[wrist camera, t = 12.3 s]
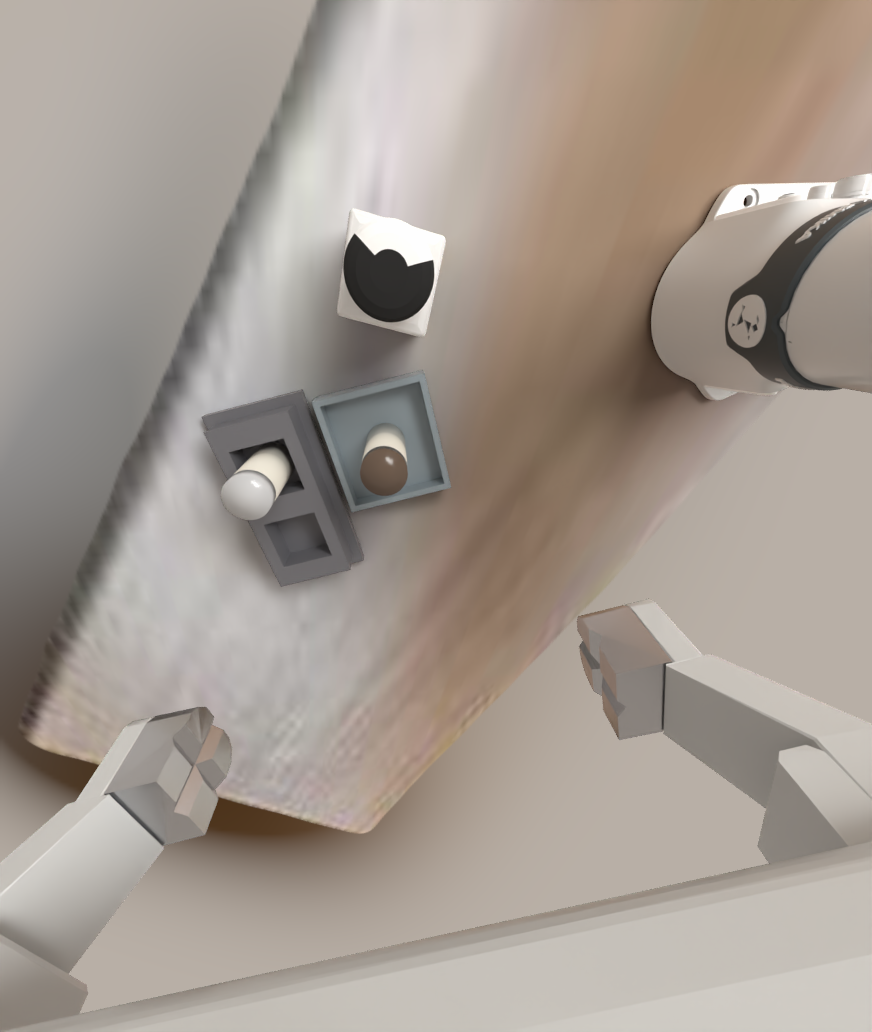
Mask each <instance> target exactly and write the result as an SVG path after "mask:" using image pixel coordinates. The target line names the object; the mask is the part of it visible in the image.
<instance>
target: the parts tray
mask: <svg viewBox="0 0 872 1032" xmlns="http://www.w3.org/2000/svg"><path fill="white" fill-rule="evenodd" d="M312 405H313V408H314V411H315V413H316V416H317V419H318V422H319V424H320V427H321V430H322V433H323V435H324V438H325V441H326V443H327V446H328V449H329V452H330V454H331V457H332V460H333V463H334V465H335V468H336V471H337V474H338V476H339V479H340V482H341V484H342V487H343V490H344V493H345V495H346V498H347V501H348V504H349V506H350V509H351V512H356V511H360V510H364V509H368V508H372V507H376V506H380V505H384V504H388V503H392V502H396V501H400V500H404V499H408V498H412V497H416V496H420V495H424V494H428V493H432V492H436V491H440V490H444V489H448V488H451V485H450V480H449V476H448V472H447V468H446V463H445V459H444V455H443V451H442V446H441V442H440V438H439V434H438V429H437V425H436V421H435V416H434V412H433V408H432V404H431V399H430V395H429V391H428V387H427V382H426V378H425V374H424V371H423V370H420V371H416V372H412V373H408V374H404V375H400V376H396V377H392V378H389V379H385V380H381V381H377V382H373V383H369V384H365V385H361V386H358V387H354V388H350V389H346V390H342V391H338V392H334V393H330V394H327V395H323V396H319V397H316V398H315V399H314V400H313V401H312ZM381 423H390V424H393V425H395V426H397V427H398V428H399V429H400V430H401V431H402V432H403V434H404V437H405V444H406V457H407V470H408V478H407V481H406V484H405V485H404V487H403V488H402V489H401V490H400V491H399V492H397V493H395V494H393V495H389V496H380V495H376V494H374V493H372V492H370V491H369V490H368V489H367V488H366V487H365V486H364V485H363V483H362V481H361V477H360V469H361V464H362V459H363V455H364V450H365V445H366V441H367V436H368V434H369V432H370V430H371V429H372V428H373V427H374V426H376V425H378V424H381Z"/></svg>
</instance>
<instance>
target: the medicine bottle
mask: <svg viewBox="0 0 872 1032" xmlns="http://www.w3.org/2000/svg"><path fill="white" fill-rule="evenodd" d="M445 243H446V240H445V238H444V236H442V235H439V234H436V233H432V232H429V231H426V230H423V229H420V228H416V227H413V226H411V225H409V224H407V223H406V222H404V221H401V220H398V219H394V218H384V217H381V216H378V215H374V214H371V213H368V212H365V211H361V210H358V209H351V210H350V213H349V219H348V227H347V235H346V243H345V250H344V258H343V266H342V274H341V281H340V289H339V297H338V305H337V313H338V315H339V316H341V317H345V318H348V319H352V320H356V321H360V322H364V323H368V324H371V325H375V326H379V327H383V328H387V329H391V330H394V331H398V332H402V333H406V334H410V335H414V336H417V337H424V336H425V335H426V331H427V327H428V322H429V317H430V313H431V308H432V304H433V299H434V294H435V290H436V285H437V280H438V276H439V271H440V266H441V262H442V257H443V252H444V248H445Z"/></svg>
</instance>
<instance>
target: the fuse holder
mask: <svg viewBox="0 0 872 1032" xmlns="http://www.w3.org/2000/svg"><path fill="white" fill-rule="evenodd" d="M202 419H203V421H204V423H205V425H206V427H207V429H208V430H207V431H205V432H204V434H205V436H206V438H207V440H208V442H209V444H210V446H211V448H212V450H213V452H214V454H215V456H216V458H217V460H218V462H219V464H220V466H221V468H222V470H223V472H224V474H225V476H226V478H227V480H229V479H230V478H231V477H232V476H233V475H234V473H235V472H236V471H237V470H238V469H239V468H240V467H241V466H242V465H243V464H244V463H245V462H246V461H247V460H248V459H249V458H250V457H251V456H252V455H253V454H254V453H255V452H256V451H257V450H258V449H259V448H260V447H261V446H262V445H264V444H267V443H279V444H282V445H284V446H286V447H287V448H288V450H289V453H290V455H291V458H292V460H293V462H294V465H295V469H294V471H293V473H292V475H291V476H290V478H289V479H288V481H287V483H286V484H285V486H284V487H283V489H282V490H281V492H280V494H279V495H278V497H277V498H276V500H275V502H274V503H273V505H272V506H271V508H270V510H269V511H268V513H267V514H266V515H265V516H263V517H261V518H259V519H256V520H248V522H249V524H250V526H251V528H252V530H253V532H254V534H255V536H256V538H257V540H258V542H259V544H260V546H261V548H262V550H263V552H264V554H265V556H266V558H267V560H268V562H269V564H270V566H271V568H272V570H273V572H274V574H275V576H276V578H277V580H278V582H279V584H280V586H281V587H282V586H286V585H290V584H294V583H298V582H302V581H306V580H310V579H314V578H318V577H322V576H326V575H331V574H335V573H339V572H343V571H347V570H350V568H351V563H355V562H359V561H363V560H364V554H363V552H362V549H361V546H360V543H359V541H358V538H357V535H356V533H355V530H354V527H353V525H352V522H351V519H350V516H349V514H348V511H347V508H346V506H345V503H344V500H343V498H342V495H341V492H340V489H339V487H338V484H337V481H336V479H335V476H334V473H333V471H332V468H331V465H330V462H329V460H328V457H327V454H326V452H325V449H324V446H323V444H322V441H321V438H320V435H319V433H318V430H317V427H316V425H315V422H314V419H313V417H312V414H311V411H310V408H309V406H308V403H307V400H306V398H305V395H304V392H303V390H299V391H296V392H292V393H288V394H284V395H280V396H276V397H272V398H269V399H265V400H261V401H257V402H253V403H249V404H245V405H241V406H238V407H234V408H230V409H226V410H222V411H218V412H214V413H210V414H207V415H204V416H203V417H202Z"/></svg>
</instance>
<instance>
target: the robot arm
mask: <svg viewBox="0 0 872 1032" xmlns="http://www.w3.org/2000/svg"><path fill="white" fill-rule="evenodd" d="M745 197H746V199H747V203H746V205H745V206H744V204H743V201H744V199H745ZM651 331H652V338H653V342H654V346H655V349H656V351H657V353H658V355H659V357H660V358H661V360H662V361H663V363H664V364H665V365H666V366H667V367H668V368H669V369H670V370H671V371H673V372H674V373H676V374H677V375H679V376H681V377H684V378H686V379H688V380H690V381H692V382H693V383H695V384H696V386H697V387H698V389H699V390H700V392H701V393H702V394H703V395H704V396H705V397H706V398H707V399H710V400H722V399H725V398H727V397H729V396H732V395H734V394H736V393H738V392H742V393H749V394H756V395H763V396H771V395H775V394H776V393H777V392H778V391H781V390H784V389H786V388H788V387H793V388H798V389H805V390H806V389H808V390H837V389H842V388H844V389H850V390H855V391H861V392H867V393H872V174H863V175H856V176H851V177H847V178H843V179H840V180H838V181H837V182H825V183H777V184H740V185H734V186H730V187H728V188H726V189H725V190H724V191H723V192H722V193H721V194H720V195H719V197H718V198H717V200H716V201H715V203H714V205H713V207H712V208H711V210H710V212H709V214H708V216H707V218H706V220H705V222H704V224H703V225H702V226H701V228H700V229H699V230H698V231H697V232H696V233H695V234H694V235H693V236H692V237H691V238H690V239H689V240H688V241H687V242H686V243H685V244H684V245H683V247H682V248H681V249H680V250H679V251H678V253H677V254H676V255H675V256H674V258H673V259H672V261H671V262H670V264H669V265H668V267H667V269H666V271H665V272H664V274H663V276H662V278H661V281H660V283H659V285H658V288H657V291H656V294H655V298H654V302H653V307H652V315H651ZM577 628H578V632H579V634H580V636H581V637H582V639H583V641H582V643H581V644H580V646H579V647H580V655H581V660H582V664H583V668H584V671H585V673H586V676H587V678H588V681H589V683H590V685H591V687H592V689H593V691H594V692H596V693H597V694H599V695H601V696H602V699H603V710H604V712H605V714H606V716H607V718H608V720H609V722H610V723H611V725H612V727H613V729H614V731H615V733H616V735H617V737H618V739H619V740H622V739H627V738H632V737H637V736H642V735H646V734H652V733H657V732H662V731H664V734H665V735H666V736H668V737H669V738H670V739H672V740H673V741H674V742H676V743H677V744H679V745H680V746H681V747H683V748H684V749H685V750H687V751H688V752H689V753H691V754H692V755H693V756H695V757H696V758H697V759H699V760H700V761H702V762H703V763H705V764H706V765H707V766H708V767H710V768H711V769H712V770H714V771H715V772H717V773H718V774H719V775H721V776H722V777H723V778H725V779H726V780H727V781H729V782H730V783H732V784H733V785H735V786H736V787H737V788H738V789H740V790H741V791H743V792H744V793H745V794H747V795H748V796H749V797H751V798H752V799H754V800H755V801H756V802H758V803H759V804H761V805H762V806H763V807H764V808H766V811H765V815H764V820H763V824H762V829H761V833H760V838H759V842H758V848H759V849H760V851H761V852H762V854H763V855H764V857H765V858H766V860H767V861H768V863H769V864H765V865H761V866H756V867H751V868H747V869H742V870H738V871H733V872H728V873H724V874H720V875H715V876H710V877H706V878H701V879H696V880H692V881H687V882H683V883H678V884H674V885H669V886H664V887H660V888H655V889H650V890H646V891H642V892H637V893H632V894H627V895H623V896H618V897H614V898H609V899H604V900H601V901H595V902H591V903H587V904H582V905H577V906H573V907H568V908H563V909H558V910H554V911H550V912H545V913H540V914H536V915H531V916H526V917H522V918H517V919H513V920H508V921H503V922H499V923H495V924H490V925H485V926H480V927H476V928H472V929H467V930H462V931H458V932H453V933H449V934H444V935H439V936H435V937H431V938H425V939H421V940H416V941H412V942H407V943H402V944H398V945H393V946H389V947H384V948H379V949H375V950H370V951H366V952H361V953H356V954H352V955H347V956H343V957H338V958H334V959H329V960H324V961H320V962H316V963H310V964H306V965H301V966H297V967H292V968H287V969H283V970H278V971H274V972H269V973H265V974H260V975H255V976H251V977H246V978H242V979H237V980H232V981H228V982H223V983H219V984H214V985H210V986H205V987H200V988H196V989H191V990H187V991H182V992H178V993H173V994H168V995H164V996H159V997H155V998H150V999H145V1000H141V1001H136V1002H132V1003H127V1004H123V1005H118V1006H113V1007H109V1008H104V1009H100V1010H96V1011H90V1012H86V1013H82V1014H79V1013H80V1010H81V1008H82V1006H83V1004H84V1001H85V999H86V997H87V995H88V991H87V985H86V984H84V983H83V982H81V981H79V980H78V979H76V978H74V977H72V976H71V975H69V972H70V971H71V970H72V968H73V967H74V966H75V964H76V963H77V962H78V960H79V959H80V958H81V956H82V955H83V954H84V952H85V951H86V950H87V949H88V947H89V946H90V945H91V943H92V942H93V941H94V939H95V938H96V937H97V935H98V934H99V933H100V931H101V930H102V929H103V928H104V926H105V925H106V924H107V922H108V921H109V920H110V918H111V917H112V916H113V914H114V913H115V912H116V910H117V909H118V908H119V906H120V905H121V904H122V903H123V901H124V900H125V899H126V897H127V896H128V895H129V893H130V892H131V891H132V890H133V888H134V887H135V886H136V884H137V883H138V882H139V880H140V879H141V877H142V876H143V875H144V874H145V873H146V871H147V870H148V869H149V867H150V866H151V865H152V863H153V862H154V861H155V859H156V858H157V857H158V855H159V854H160V853H161V851H162V850H163V849H164V847H163V846H164V845H168V844H172V843H176V842H179V841H183V840H187V839H191V838H195V837H198V836H202V835H205V834H206V831H207V828H208V826H209V823H210V820H211V817H212V814H213V812H214V809H215V807H216V804H217V801H218V797H217V793H216V790H215V789H216V788H217V787H218V786H219V785H220V783H221V782H222V781H223V780H224V779H225V778H226V776H227V773H228V771H229V768H230V765H231V756H232V746H231V743H230V739H229V737H228V735H227V734H226V733H225V731H224V730H222V729H220V728H218V727H216V726H213V725H212V724H213V720H214V716H213V715H212V714H211V712H210V711H209V710H208V709H207V707H196V708H192V709H187V710H182V711H177V712H173V713H168V714H163V715H158V716H155V717H151V718H147V719H142V720H137V721H133V722H131V723H130V724H129V725H127V726H126V727H124V729H123V730H122V732H121V733H120V735H119V736H118V738H117V739H116V741H115V742H114V744H113V745H112V747H111V748H110V750H109V751H108V753H107V755H106V756H105V758H104V759H103V761H102V762H101V764H100V765H99V767H98V768H97V770H96V771H95V773H94V774H93V776H92V777H91V779H90V781H89V782H88V783H87V785H86V786H85V788H84V789H83V791H82V793H81V794H80V796H79V797H78V799H77V800H76V802H73V803H69V804H67V805H66V806H65V807H64V808H62V809H61V810H60V811H59V812H58V813H57V814H56V815H54V816H53V817H52V818H51V819H50V820H49V821H48V822H46V823H45V824H44V825H43V826H42V827H41V828H39V829H38V830H37V831H36V832H35V833H34V834H33V835H31V836H30V837H29V838H28V839H27V840H26V841H25V842H23V843H22V844H21V845H20V846H19V847H18V848H17V849H15V850H14V851H13V852H12V853H11V854H10V855H9V856H7V857H6V858H5V859H4V860H3V861H2V862H1V863H0V1032H872V724H870V723H868V722H866V721H864V720H862V719H859V718H857V717H854V716H852V715H850V714H848V713H845V712H843V711H841V710H839V709H836V708H834V707H832V706H829V705H827V704H825V703H823V702H820V701H818V700H816V699H813V698H811V697H809V696H806V695H804V694H802V693H800V692H797V691H795V690H792V689H790V688H788V687H786V686H783V685H781V684H779V683H777V682H774V681H772V680H770V679H767V678H765V677H763V676H761V675H758V674H756V673H754V672H751V671H749V670H747V669H744V668H742V667H740V666H738V665H735V664H733V663H731V662H728V661H726V660H724V659H721V658H719V657H717V656H715V655H712V654H708V655H702V654H701V653H700V652H699V651H698V650H697V649H696V647H695V646H694V645H693V644H692V643H691V642H690V640H689V639H688V638H687V637H686V636H685V635H684V634H683V633H682V632H681V630H680V629H679V628H678V627H677V626H676V625H675V624H674V623H673V621H672V620H671V619H670V618H669V617H668V616H667V615H666V614H665V613H664V612H663V610H662V609H661V608H660V607H659V606H658V605H657V604H656V603H655V601H653V600H651V599H646V600H642V601H638V602H634V603H630V604H626V605H625V606H624V605H622V606H618V607H614V608H610V609H606V610H602V611H598V612H594V613H590V614H586V615H582V616H578V619H577Z"/></svg>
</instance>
